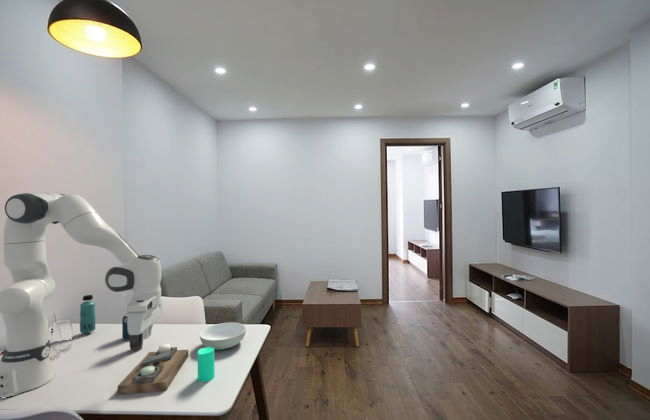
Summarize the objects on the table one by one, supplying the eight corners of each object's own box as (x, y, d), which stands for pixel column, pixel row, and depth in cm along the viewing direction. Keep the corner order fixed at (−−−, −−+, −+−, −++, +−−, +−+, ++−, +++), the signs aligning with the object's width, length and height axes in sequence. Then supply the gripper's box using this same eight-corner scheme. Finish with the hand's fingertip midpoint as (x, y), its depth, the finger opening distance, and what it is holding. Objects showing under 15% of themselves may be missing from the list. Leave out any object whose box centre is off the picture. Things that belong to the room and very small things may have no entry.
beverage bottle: (84, 331, 158) (84, 294, 158) (98, 330, 160) (98, 293, 160) (76, 336, 152) (76, 297, 152) (91, 335, 153) (91, 296, 153)
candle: (215, 379, 113) (215, 347, 113) (198, 383, 110) (198, 351, 110) (213, 371, 118) (212, 341, 118) (196, 375, 115) (196, 345, 115)
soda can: (131, 341, 146) (131, 316, 146) (118, 340, 147) (118, 316, 147) (142, 335, 153) (141, 312, 153) (130, 334, 154) (130, 311, 154)
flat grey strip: (141, 367, 115) (140, 364, 115) (146, 361, 119) (145, 358, 119) (167, 358, 116) (166, 355, 116) (171, 353, 120) (171, 350, 120)
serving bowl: (219, 333, 155) (219, 320, 155) (254, 338, 149) (254, 325, 149) (189, 351, 136) (189, 336, 136) (227, 358, 129) (227, 342, 129)
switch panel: (117, 394, 104) (117, 380, 104) (149, 359, 129) (149, 347, 129) (166, 390, 106) (166, 376, 106) (188, 356, 131) (188, 345, 131)
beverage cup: (130, 354, 133) (130, 309, 133) (124, 350, 137) (124, 306, 137) (148, 348, 138) (148, 305, 138) (141, 344, 143) (141, 302, 143)
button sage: (138, 379, 107) (138, 372, 107) (144, 372, 111) (144, 366, 111) (151, 378, 108) (151, 371, 108) (156, 371, 112) (156, 365, 112)
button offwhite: (157, 354, 123) (157, 348, 123) (161, 349, 127) (161, 343, 127) (168, 353, 124) (168, 347, 124) (172, 348, 128) (172, 343, 128)
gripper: (150, 292, 119) (150, 326, 119) (123, 308, 99) (122, 350, 99) (167, 291, 120) (167, 326, 120) (143, 308, 100) (143, 349, 100)
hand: (146, 337), depth 109 cm, fingers closed
